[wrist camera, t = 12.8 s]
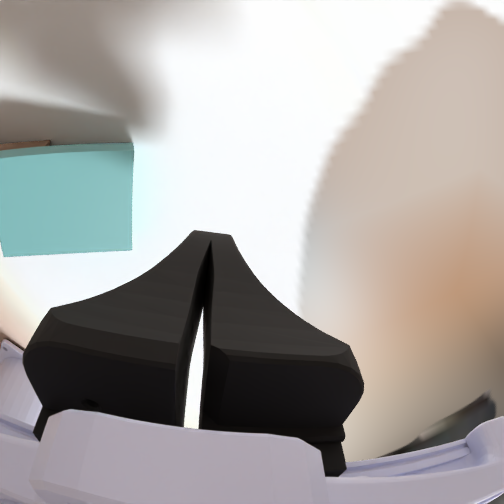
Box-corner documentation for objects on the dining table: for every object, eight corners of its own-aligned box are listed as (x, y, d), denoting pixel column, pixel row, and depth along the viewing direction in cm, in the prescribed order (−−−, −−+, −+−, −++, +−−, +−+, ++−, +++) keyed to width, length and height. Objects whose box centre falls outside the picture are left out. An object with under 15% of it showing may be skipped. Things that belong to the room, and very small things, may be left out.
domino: (134, 150, 13) (-11, 159, 10) (132, 250, 15) (3, 257, 13) (133, 142, 14) (0, 150, 11) (130, 234, 17) (11, 241, 14)
